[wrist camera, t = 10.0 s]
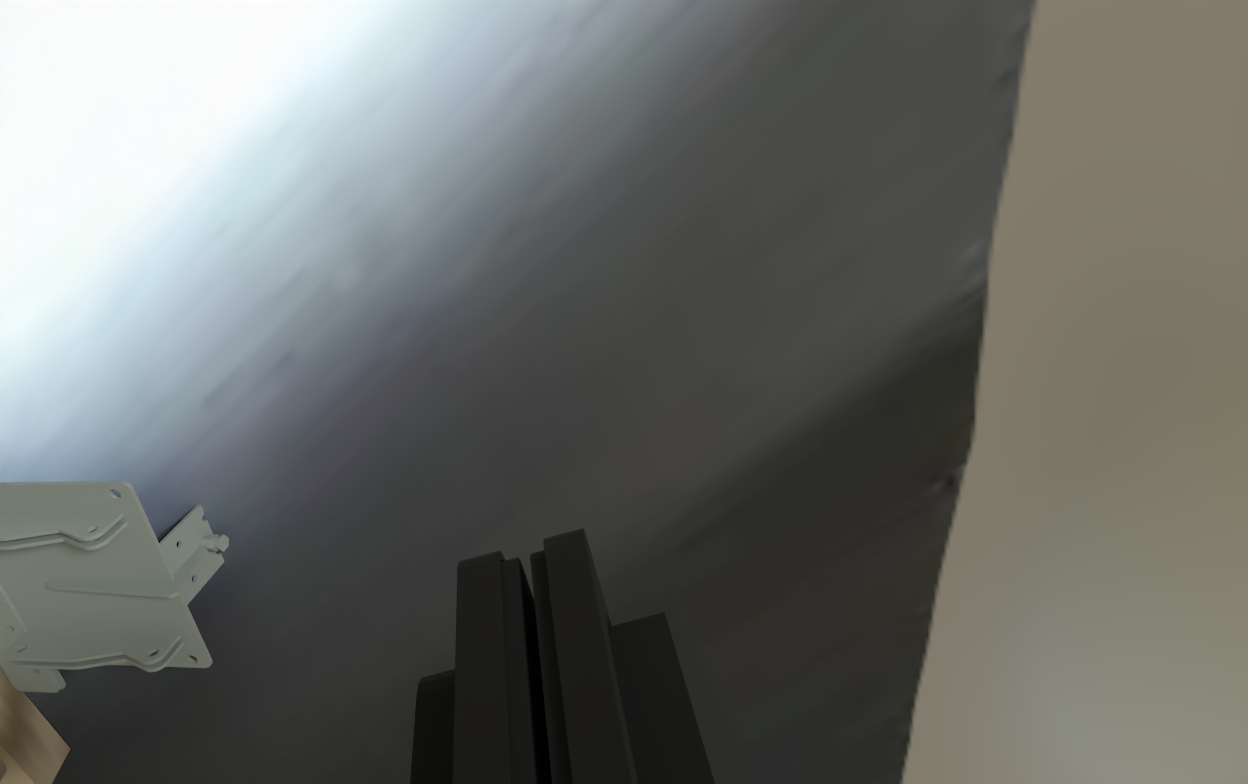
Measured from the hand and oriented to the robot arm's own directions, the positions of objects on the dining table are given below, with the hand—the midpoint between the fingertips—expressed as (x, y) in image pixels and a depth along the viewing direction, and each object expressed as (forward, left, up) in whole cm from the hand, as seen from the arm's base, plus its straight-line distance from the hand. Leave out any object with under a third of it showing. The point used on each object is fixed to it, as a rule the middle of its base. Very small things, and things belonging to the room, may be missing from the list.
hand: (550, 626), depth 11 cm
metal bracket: (+13, -26, -29) cm, 41 cm away
